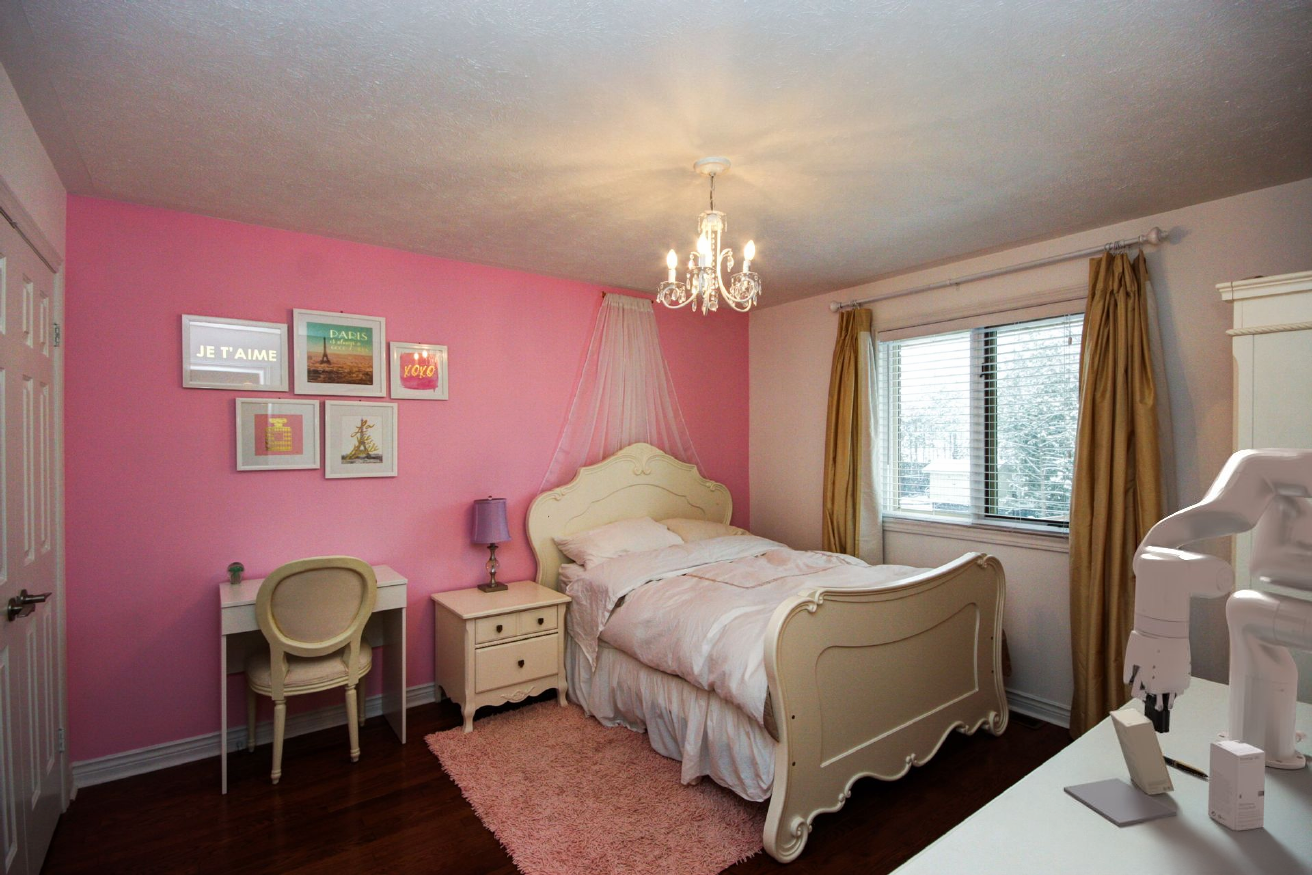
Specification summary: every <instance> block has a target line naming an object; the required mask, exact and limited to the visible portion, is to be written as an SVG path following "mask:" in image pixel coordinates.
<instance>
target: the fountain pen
mask: <svg viewBox="0 0 1312 875" xmlns="http://www.w3.org/2000/svg"><path fill="white" fill-rule="evenodd" d="M1163 757H1164V760H1165V763H1166V764H1168V765H1170V766H1173V767H1174V768H1177V769H1180V771H1184V772H1187V773H1190V774H1193V775H1195V776H1198V777H1202V778H1209V775H1208V774H1207V773H1205V772H1204V771H1202V770H1200V769H1199V768H1197V767H1194V766H1191V765H1189V764H1187V763H1184V762H1182V761H1180V760H1176V759H1173V758H1170V757H1168V756H1165V755H1163Z"/></svg>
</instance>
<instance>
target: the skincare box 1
mask: <svg viewBox="0 0 1312 875" xmlns="http://www.w3.org/2000/svg"><path fill="white" fill-rule="evenodd" d="M1109 715H1110V718H1111V721H1112V725H1113V727H1114V730H1115V734H1116V736H1117V740H1118V743H1119V747H1120V749H1121V752H1122V756H1123V758H1124V762H1125V764H1126V768H1127V771H1128V775H1129V777H1130V778H1131V780H1133V782H1134V783H1135V784H1137V785H1138V787H1139V788H1140V789H1141V790H1142V791H1143V793H1145V794H1146V795H1148V796H1150V795H1151V796H1152V795H1156V794H1165V793H1170V792H1174V791H1175V788H1174V785H1173V782H1172V779H1171V776H1170V773H1169V769H1168V766H1167V763H1165V760H1164V757H1163V756H1164V755H1163V752H1162V748H1161V745H1160V742H1159V740H1158V736H1157V733H1156V731H1155V729H1154V726H1153V723H1152V721H1151V720H1150V719H1148V718H1147V717H1146V716H1145V715H1144V714H1143V713H1142V712H1140V711H1139V710H1138V709H1137V708H1135V707H1130V708H1122V709H1117V710H1111V711H1109Z"/></svg>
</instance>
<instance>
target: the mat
mask: <svg viewBox="0 0 1312 875" xmlns="http://www.w3.org/2000/svg"><path fill="white" fill-rule="evenodd" d="M1063 791H1064V792H1066V793H1068V795H1070V796H1072V797H1074V798H1075V799H1077V800H1078V801H1079V802H1081V803H1083V804H1084V805H1086V806H1087V807H1088V808H1090V809H1092V810H1094V811H1095V812H1097V813H1098V814H1100V815H1101V816H1103V817H1104V818H1106V819H1108V820H1109V821H1110V822H1112V823H1114V824H1115V825H1117V826H1118V827H1121V826H1125V825H1130V824H1135V823H1141V822H1146V821H1152V820H1158V819H1161V818H1166V817H1171V816H1176V815H1177V811H1175V810H1173V809H1172V808H1170V807H1168V806H1166V805H1165V804H1164V803H1161V802H1159V801H1158V800H1157V799H1154V797H1151V796H1150V795H1148V794H1147V793H1145V792H1142V791H1141V790H1139V789H1137V788H1135V787H1134V786H1132V785H1130V784H1128V783H1127V782H1125V781H1123V780H1121V779H1119V778H1118V777H1116V778H1109V779H1104V780H1098V781H1092V782H1088V783H1082V784H1075V785H1069V786H1064V787H1063Z"/></svg>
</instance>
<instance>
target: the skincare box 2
mask: <svg viewBox="0 0 1312 875" xmlns="http://www.w3.org/2000/svg"><path fill="white" fill-rule="evenodd" d="M1209 748H1210V749H1209V774H1208V776H1209V777H1208V779H1209V780H1208V782H1209V783H1208V802H1207V803H1208V807H1207V808H1208V809H1207V815H1208V816H1209V817H1211V818H1212V819H1213V820H1215V821H1216V822H1218V823H1220V824H1222V825H1224V826H1225V827H1227V828H1229V829H1230V830H1232V831H1244V830H1252V829H1253V830H1254V829H1257V828H1258V829H1260V828H1262V827H1264V824H1265V823H1264V821H1265V820H1264V819H1265V818H1264V816H1265V814H1264V812H1265V791H1266V790H1265V787H1266V786H1265V783H1266V782H1265V781H1266V778H1265V777H1266V776H1265V775H1266V765H1265V752H1264V751H1262V750H1260V749H1258V748H1255V747H1253V746H1251V745H1248V744H1246V743H1244V742H1241V741H1239V740H1236V741H1221V742H1217V741H1215V742H1210V747H1209Z"/></svg>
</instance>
